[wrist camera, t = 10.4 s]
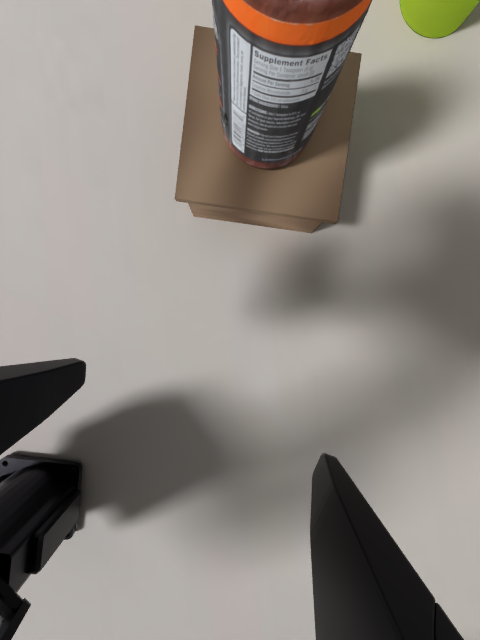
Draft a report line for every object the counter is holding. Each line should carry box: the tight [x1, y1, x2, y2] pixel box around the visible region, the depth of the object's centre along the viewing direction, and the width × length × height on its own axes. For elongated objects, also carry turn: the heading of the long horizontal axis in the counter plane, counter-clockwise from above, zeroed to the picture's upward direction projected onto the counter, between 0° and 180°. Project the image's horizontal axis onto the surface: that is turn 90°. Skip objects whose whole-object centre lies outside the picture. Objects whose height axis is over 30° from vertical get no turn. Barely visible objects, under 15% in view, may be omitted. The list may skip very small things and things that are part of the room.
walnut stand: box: [175, 26, 362, 233], centre depth 17 cm, size 11×11×4 cm
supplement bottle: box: [212, 0, 372, 169], centre depth 10 cm, size 6×6×11 cm
